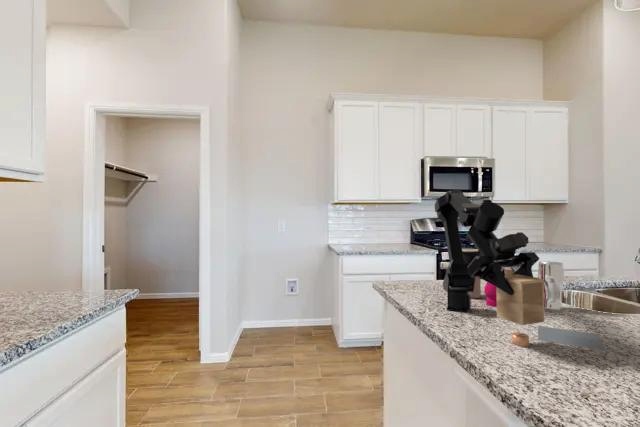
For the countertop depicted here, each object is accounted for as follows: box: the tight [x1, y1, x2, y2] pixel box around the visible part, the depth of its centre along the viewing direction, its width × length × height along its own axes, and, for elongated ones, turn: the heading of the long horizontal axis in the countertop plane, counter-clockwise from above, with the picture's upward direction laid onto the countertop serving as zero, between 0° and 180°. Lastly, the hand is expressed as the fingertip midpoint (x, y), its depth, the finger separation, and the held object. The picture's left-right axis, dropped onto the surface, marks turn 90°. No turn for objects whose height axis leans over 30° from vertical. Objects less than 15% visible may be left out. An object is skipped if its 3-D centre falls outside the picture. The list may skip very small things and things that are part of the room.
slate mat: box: [537, 325, 607, 351], centre depth 84 cm, size 13×12×1 cm
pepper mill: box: [484, 268, 504, 308], centre depth 117 cm, size 7×7×20 cm
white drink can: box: [537, 261, 565, 311], centre depth 111 cm, size 7×7×15 cm
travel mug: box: [462, 248, 482, 300], centre depth 129 cm, size 8×8×18 cm
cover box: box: [496, 274, 546, 326], centre depth 81 cm, size 7×7×10 cm
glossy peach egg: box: [511, 331, 530, 348], centre depth 81 cm, size 4×4×2 cm
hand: (524, 292), depth 80 cm, fingers closed on cover box, 7 cm apart
